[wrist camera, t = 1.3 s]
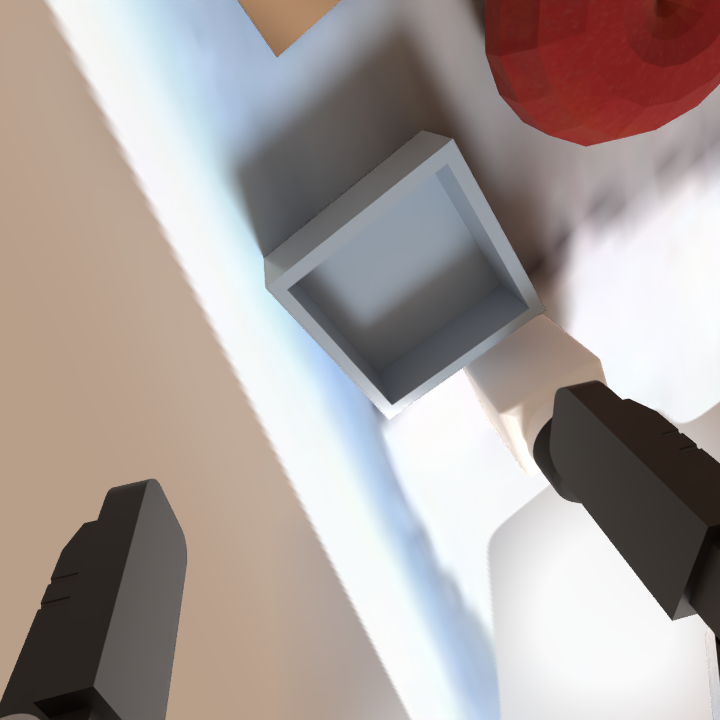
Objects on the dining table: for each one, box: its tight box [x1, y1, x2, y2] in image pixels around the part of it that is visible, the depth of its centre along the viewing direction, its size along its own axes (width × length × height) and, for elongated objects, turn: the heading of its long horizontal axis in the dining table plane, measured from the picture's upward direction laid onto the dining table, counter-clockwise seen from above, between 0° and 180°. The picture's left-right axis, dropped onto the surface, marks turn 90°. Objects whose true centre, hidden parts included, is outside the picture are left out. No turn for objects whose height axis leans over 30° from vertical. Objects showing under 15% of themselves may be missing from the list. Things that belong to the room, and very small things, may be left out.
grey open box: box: [264, 130, 546, 419], centre depth 29 cm, size 12×12×5 cm
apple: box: [485, 0, 720, 146], centre depth 21 cm, size 11×11×12 cm
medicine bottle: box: [463, 314, 607, 503], centre depth 33 cm, size 7×7×12 cm
